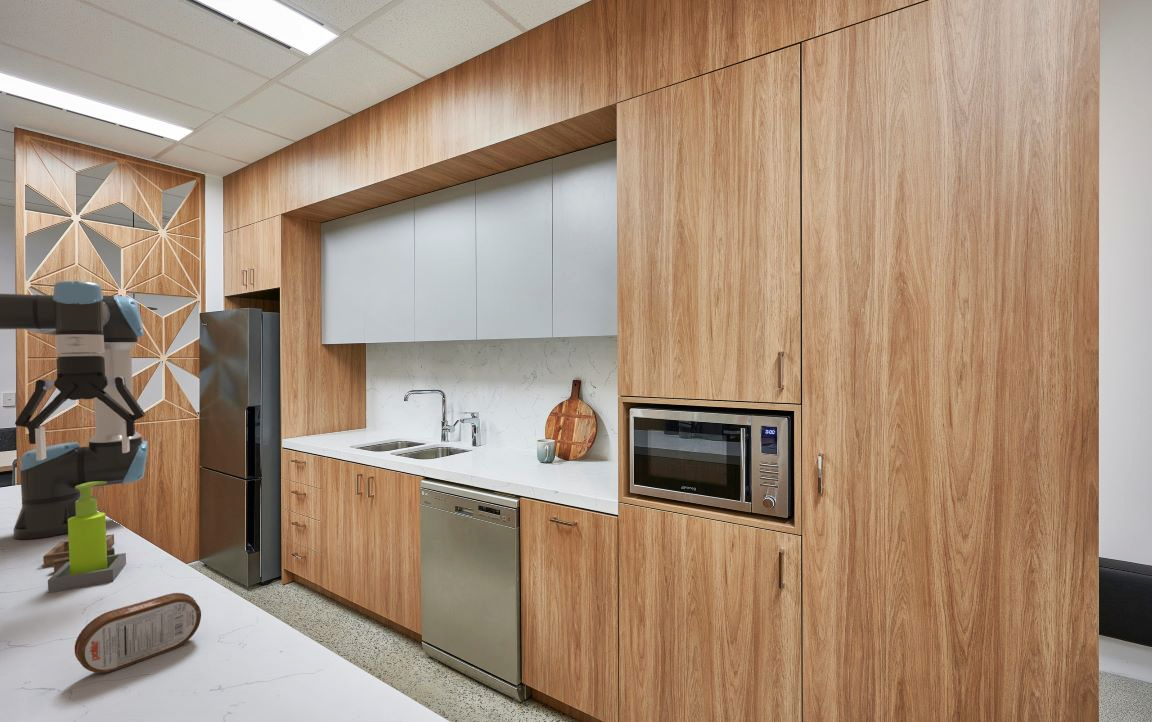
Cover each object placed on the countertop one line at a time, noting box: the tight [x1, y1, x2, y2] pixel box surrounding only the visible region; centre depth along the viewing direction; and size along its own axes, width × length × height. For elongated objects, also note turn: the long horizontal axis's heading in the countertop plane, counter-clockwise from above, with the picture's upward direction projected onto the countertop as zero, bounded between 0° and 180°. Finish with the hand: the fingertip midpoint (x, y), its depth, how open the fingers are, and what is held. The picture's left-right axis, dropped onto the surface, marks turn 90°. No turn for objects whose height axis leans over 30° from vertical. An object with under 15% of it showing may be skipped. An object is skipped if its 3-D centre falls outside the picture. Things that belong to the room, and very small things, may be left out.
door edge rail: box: [53, 546, 116, 575], centre depth 121 cm, size 2×10×2 cm, turn 136°
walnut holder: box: [42, 533, 115, 568], centre depth 128 cm, size 11×10×2 cm
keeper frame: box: [47, 552, 127, 594], centre depth 114 cm, size 11×10×2 cm
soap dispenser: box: [67, 481, 108, 575], centre depth 114 cm, size 6×7×20 cm
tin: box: [74, 592, 202, 674], centre depth 82 cm, size 15×3×8 cm, turn 141°
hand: (85, 455), depth 114 cm, fingers open, 13 cm apart
